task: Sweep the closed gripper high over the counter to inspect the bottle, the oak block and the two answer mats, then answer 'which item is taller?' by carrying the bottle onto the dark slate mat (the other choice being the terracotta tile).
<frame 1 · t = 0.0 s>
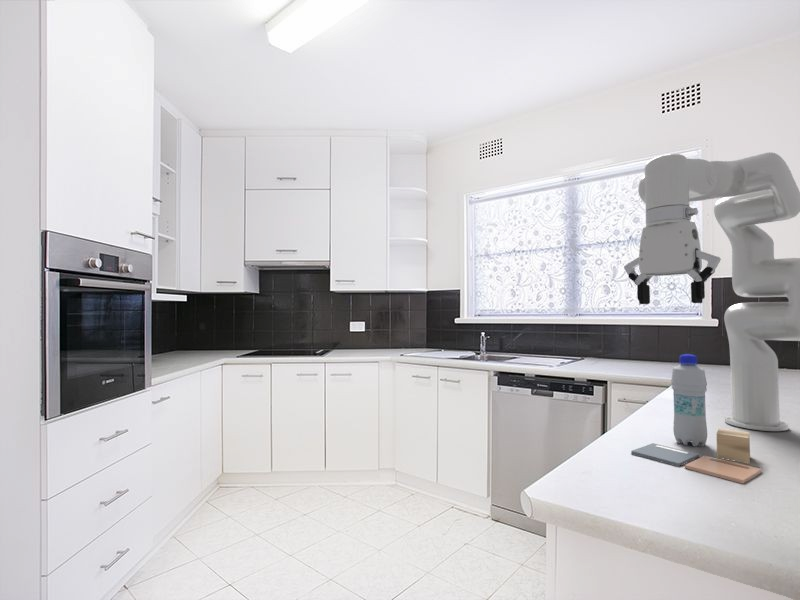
hand: (669, 303, 85), 31 cm above the countertop, tool pointing down, fingers open, 9 cm apart
terracotta tile: (722, 470, 79), on the countertop
bottle: (690, 444, 95), on the countertop
slate mat: (664, 455, 88), on the countertop
oak block: (733, 457, 86), on the countertop
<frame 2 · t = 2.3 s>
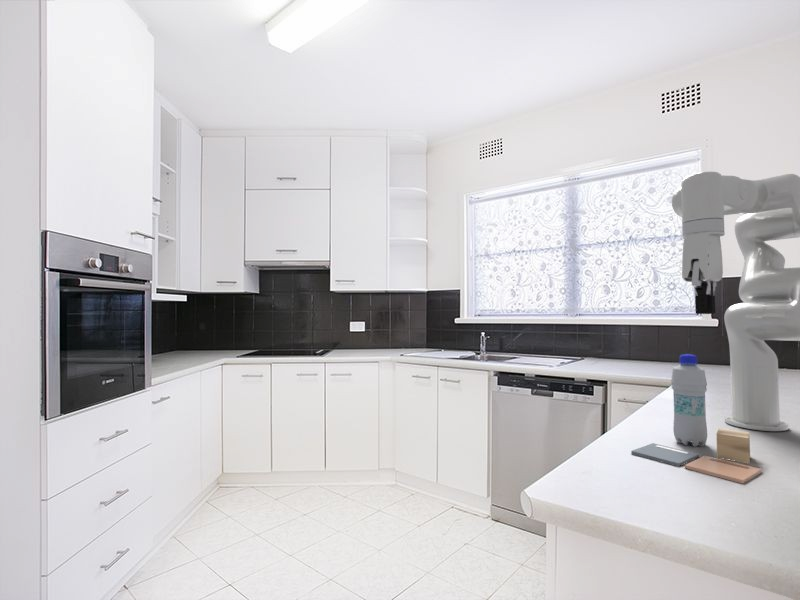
hand: (705, 313, 93), 29 cm above the countertop, tool pointing down, fingers closed
nothing on the countertop moved.
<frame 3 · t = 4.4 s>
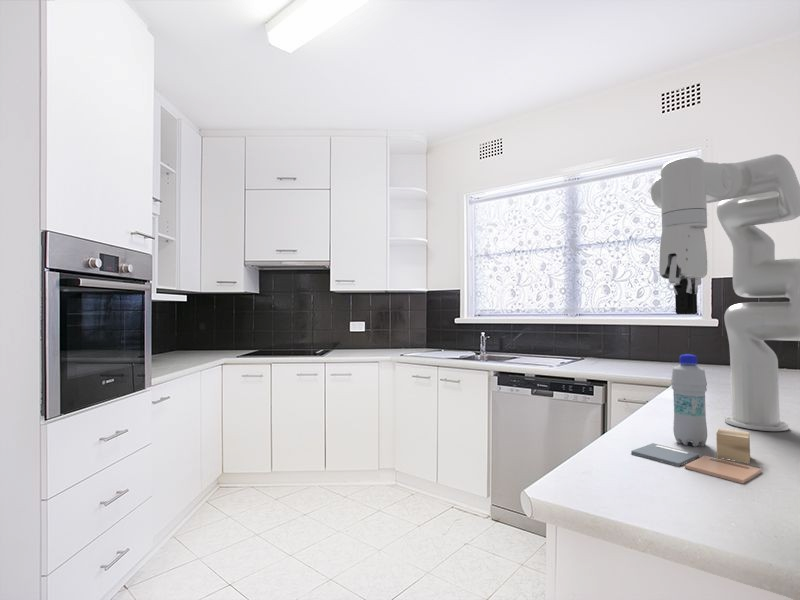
hand: (686, 314, 85), 29 cm above the countertop, tool pointing down, fingers closed
nothing on the countertop moved.
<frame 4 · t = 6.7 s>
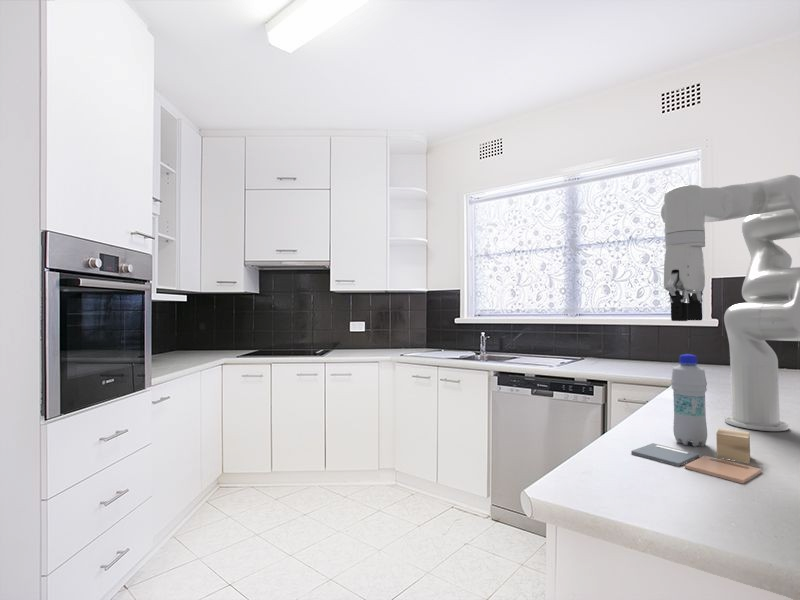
hand: (686, 319, 96), 28 cm above the countertop, tool pointing down, fingers open, 6 cm apart
nothing on the countertop moved.
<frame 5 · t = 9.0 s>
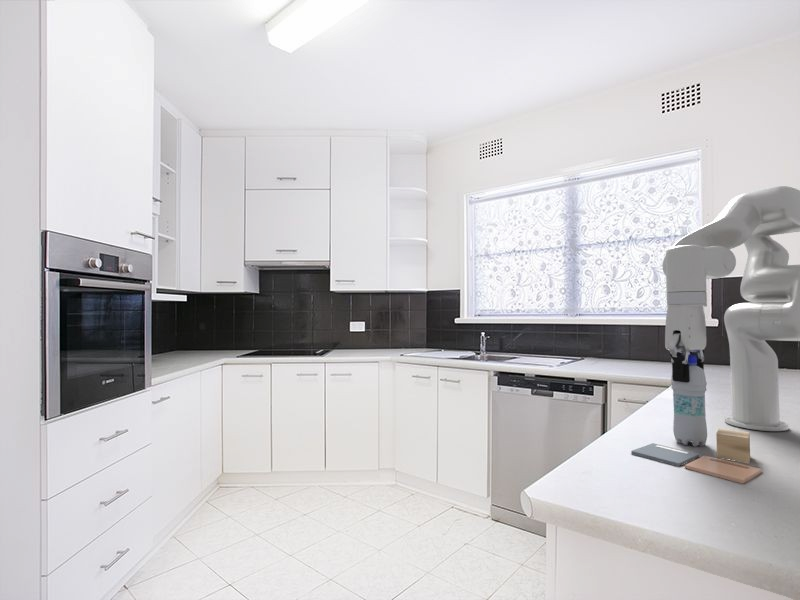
hand: (688, 379, 96), 14 cm above the countertop, tool pointing down, fingers closed on bottle, 6 cm apart
bottle: (690, 444, 95), on the countertop, touching gripper
everything else where it was.
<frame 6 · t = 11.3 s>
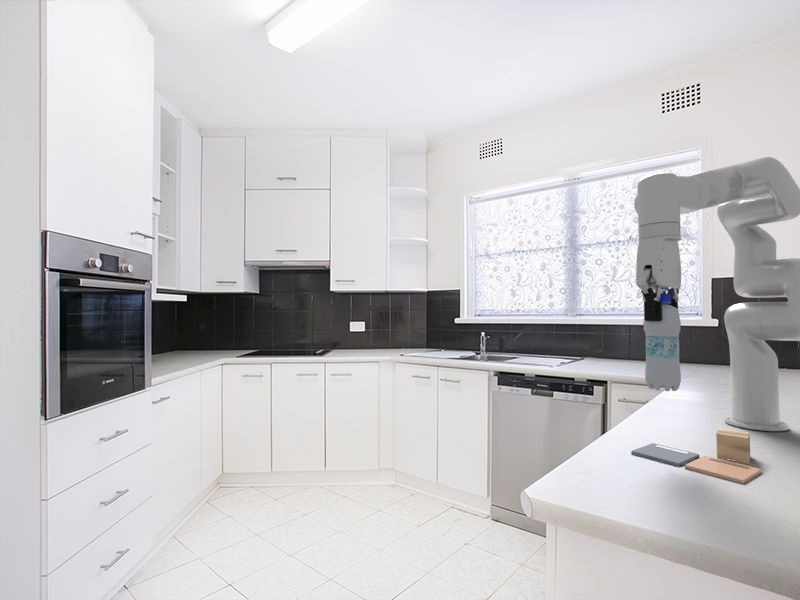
hand: (661, 319, 88), 28 cm above the countertop, tool pointing down, fingers closed on bottle, 6 cm apart
bottle: (662, 390, 88), point 13 cm above the countertop, touching gripper
everything else where it was.
when the fingers open (16 cm above the countertop, at t = 13.8 s): bottle stays where it is, resting on slate mat.
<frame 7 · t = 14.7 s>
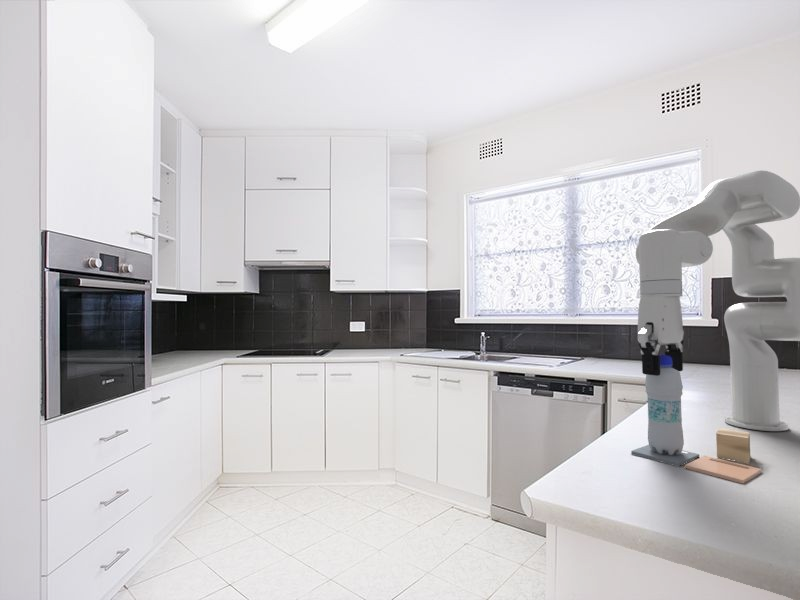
hand: (663, 372, 88), 17 cm above the countertop, tool pointing down, fingers open, 9 cm apart
bottle: (665, 452, 88), resting on slate mat
everything else where it was.
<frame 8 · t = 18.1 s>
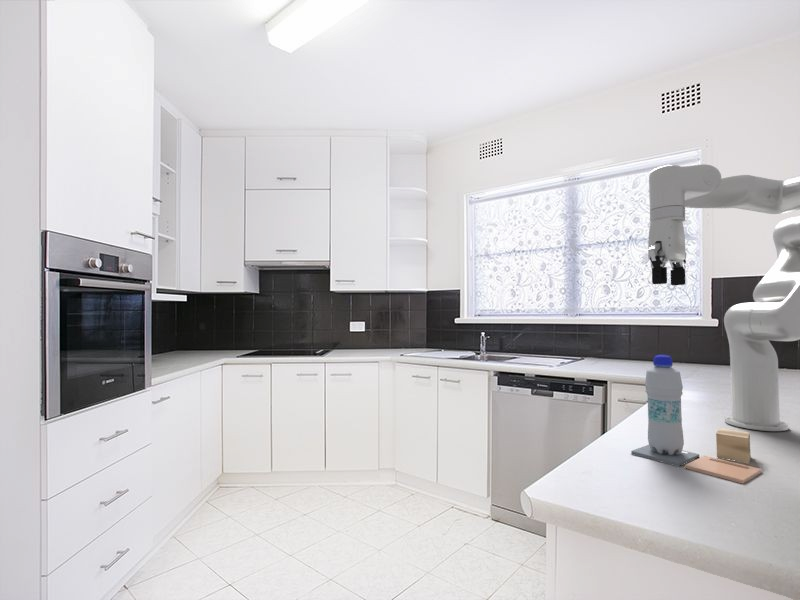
hand: (669, 284, 107), 36 cm above the countertop, tool pointing down, fingers open, 9 cm apart
nothing on the countertop moved.
at the end: bottle inside the target area on the slate mat (0.4 cm from its centre), point 0.5 cm above the slate mat's base; bottle tilted 1°; the gripper is holding nothing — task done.
